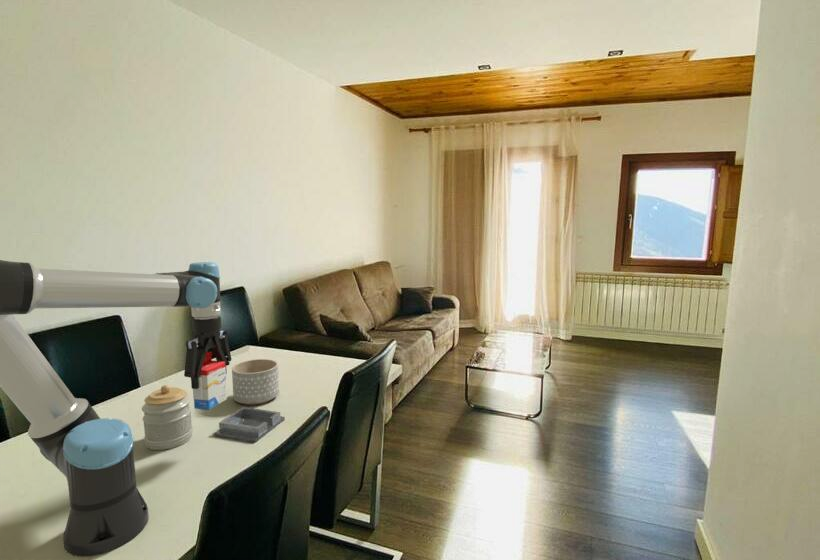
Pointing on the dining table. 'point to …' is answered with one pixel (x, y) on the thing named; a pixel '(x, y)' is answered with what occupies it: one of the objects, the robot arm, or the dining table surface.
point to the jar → (167, 418)
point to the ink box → (212, 383)
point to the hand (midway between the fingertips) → (210, 392)
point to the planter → (255, 381)
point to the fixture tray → (248, 424)
